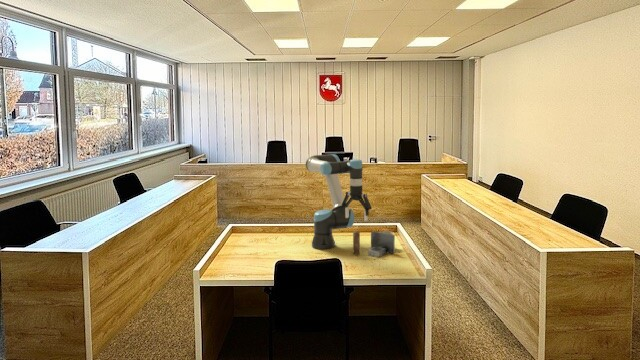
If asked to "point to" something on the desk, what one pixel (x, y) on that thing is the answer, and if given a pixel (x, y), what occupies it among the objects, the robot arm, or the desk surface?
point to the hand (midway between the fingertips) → (356, 219)
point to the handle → (356, 243)
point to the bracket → (381, 244)
